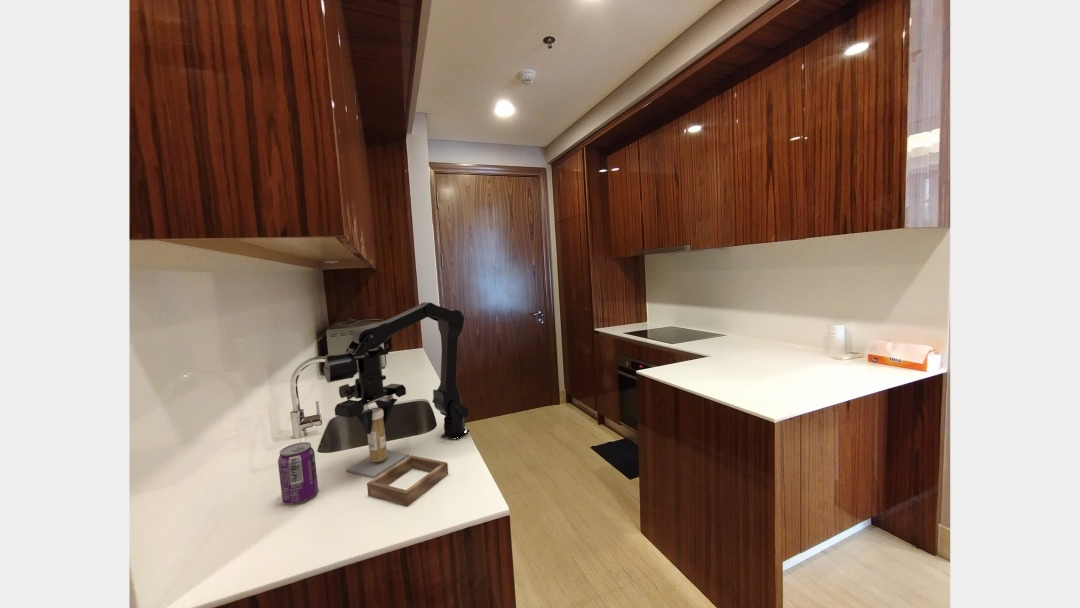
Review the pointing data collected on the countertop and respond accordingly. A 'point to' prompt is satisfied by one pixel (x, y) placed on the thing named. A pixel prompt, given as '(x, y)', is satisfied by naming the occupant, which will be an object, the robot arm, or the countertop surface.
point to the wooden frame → (406, 497)
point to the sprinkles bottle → (377, 437)
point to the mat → (377, 465)
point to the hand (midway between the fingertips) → (375, 430)
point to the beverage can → (297, 473)
